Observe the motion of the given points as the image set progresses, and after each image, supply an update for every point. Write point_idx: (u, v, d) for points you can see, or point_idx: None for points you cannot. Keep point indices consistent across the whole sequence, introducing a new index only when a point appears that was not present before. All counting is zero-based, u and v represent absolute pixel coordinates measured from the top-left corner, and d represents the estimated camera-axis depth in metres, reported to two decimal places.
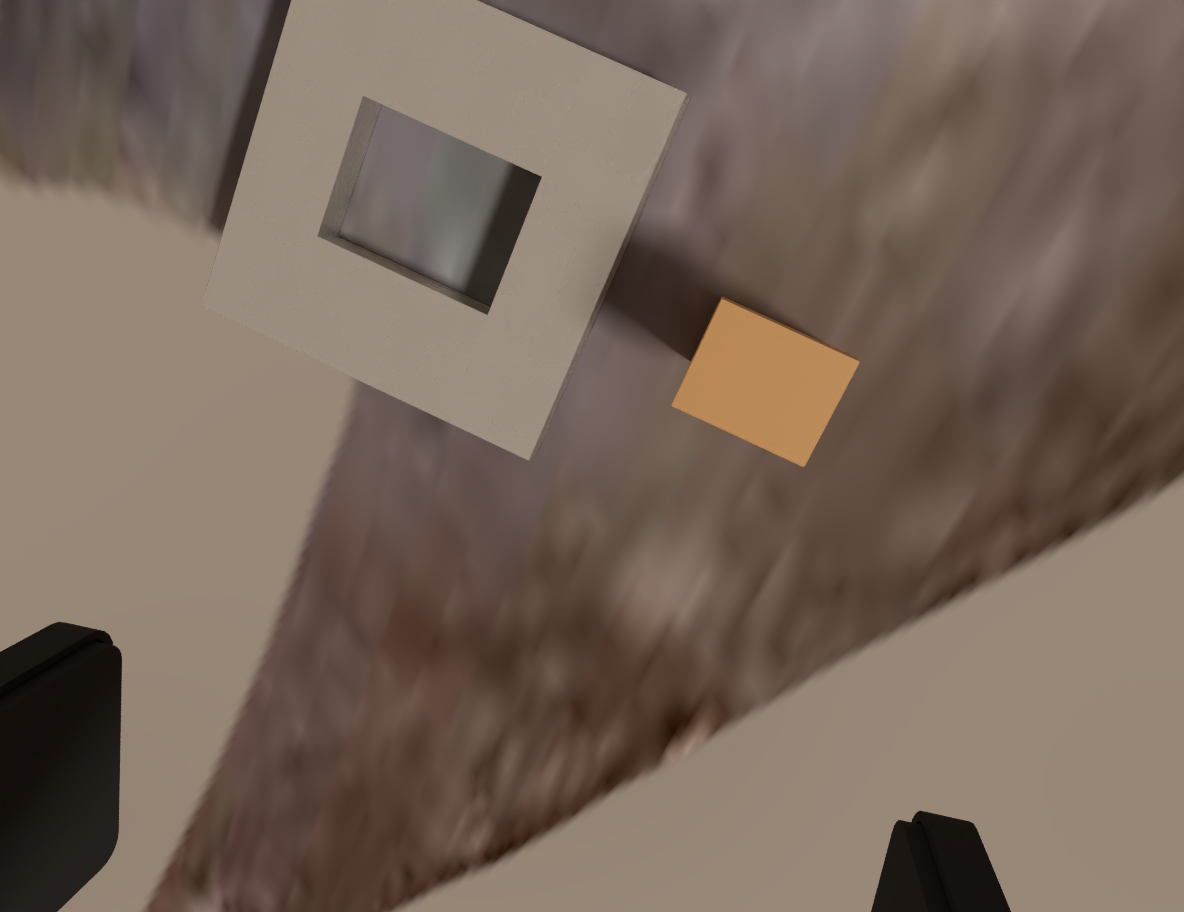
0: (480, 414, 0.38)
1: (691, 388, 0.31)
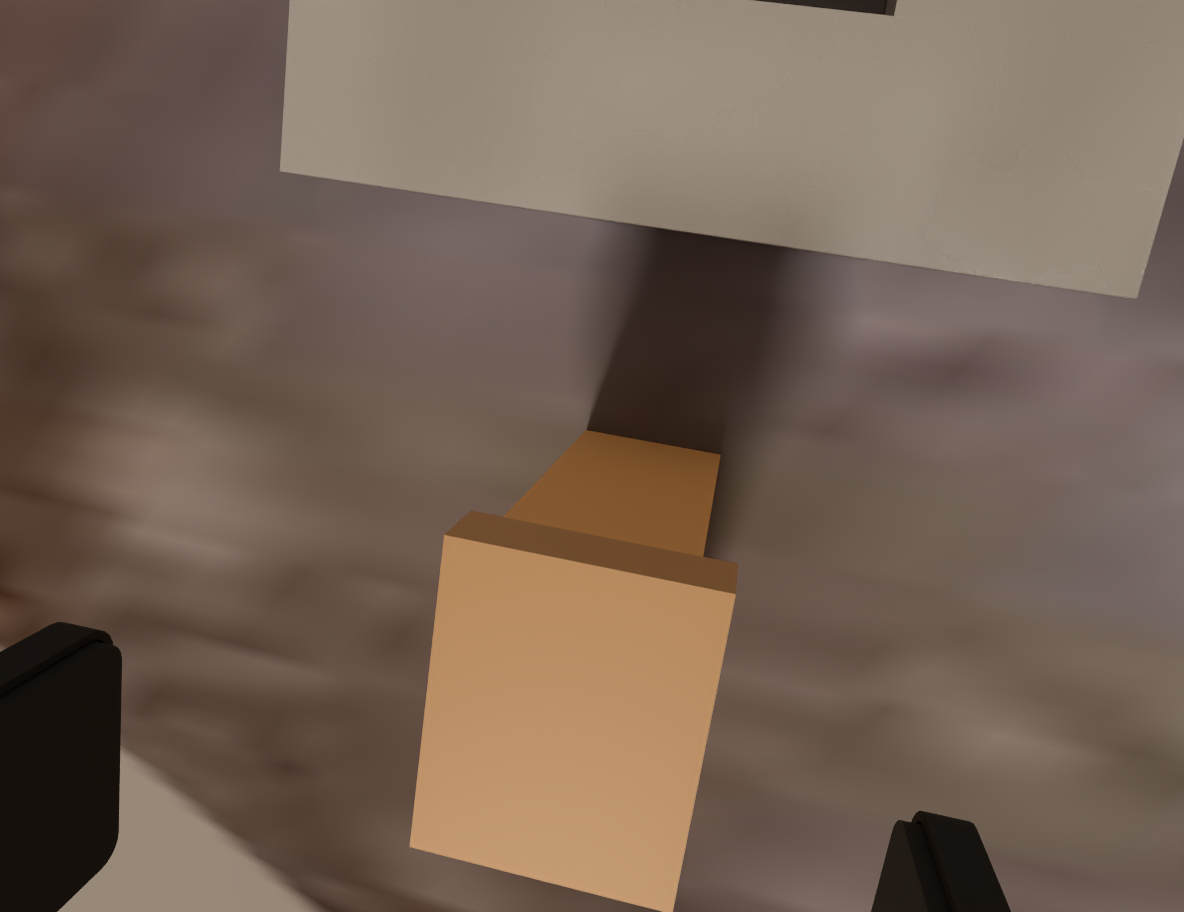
0: (335, 30, 0.17)
1: (499, 571, 0.12)
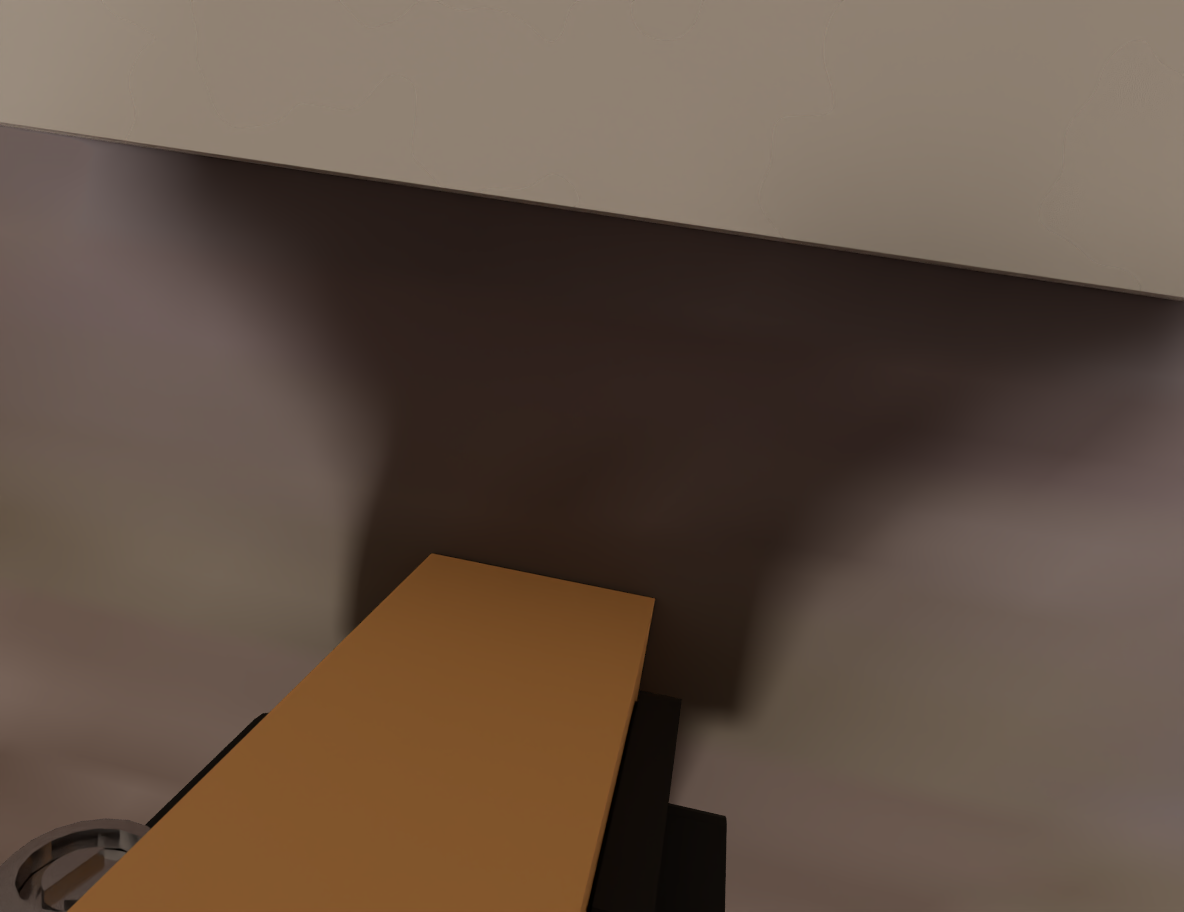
0: None
1: None
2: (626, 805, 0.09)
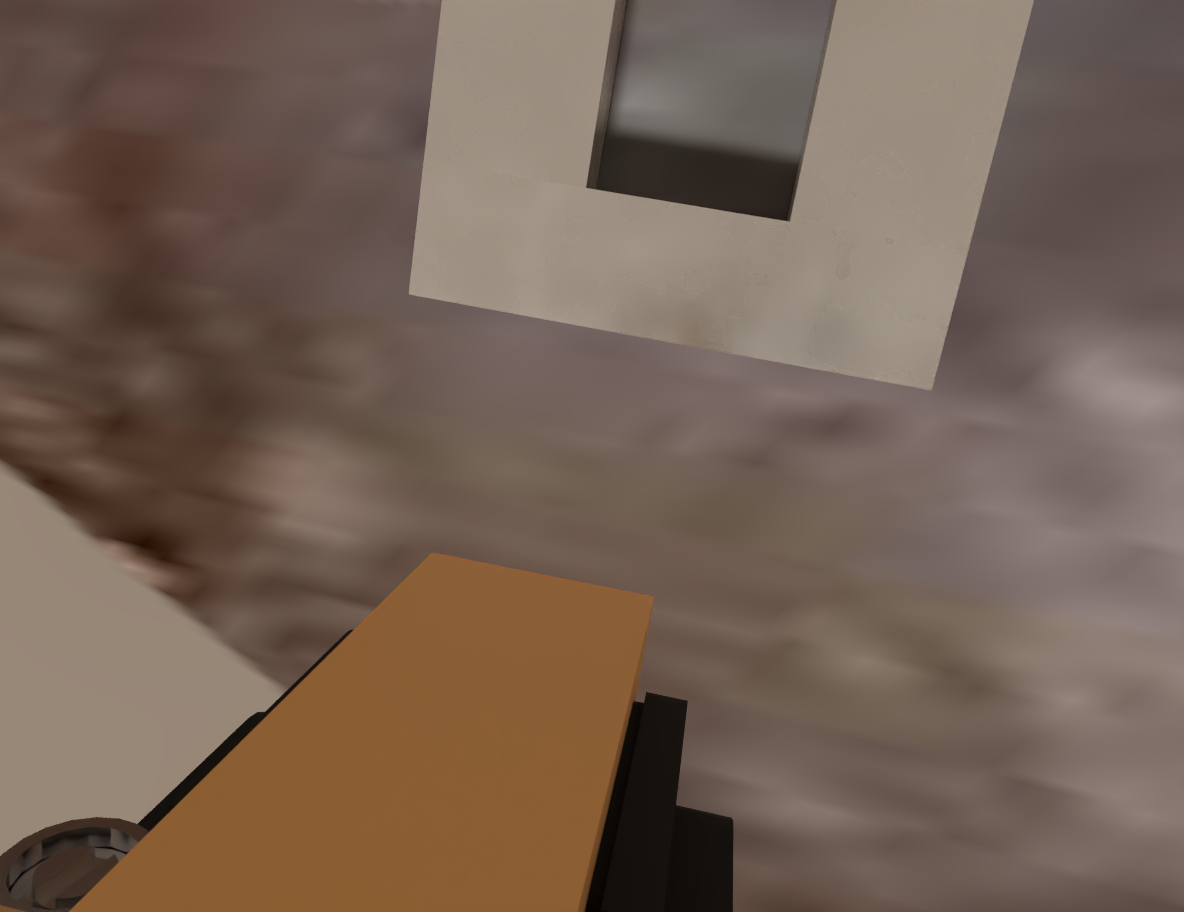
0: (448, 210, 0.27)
1: None
2: (634, 807, 0.09)
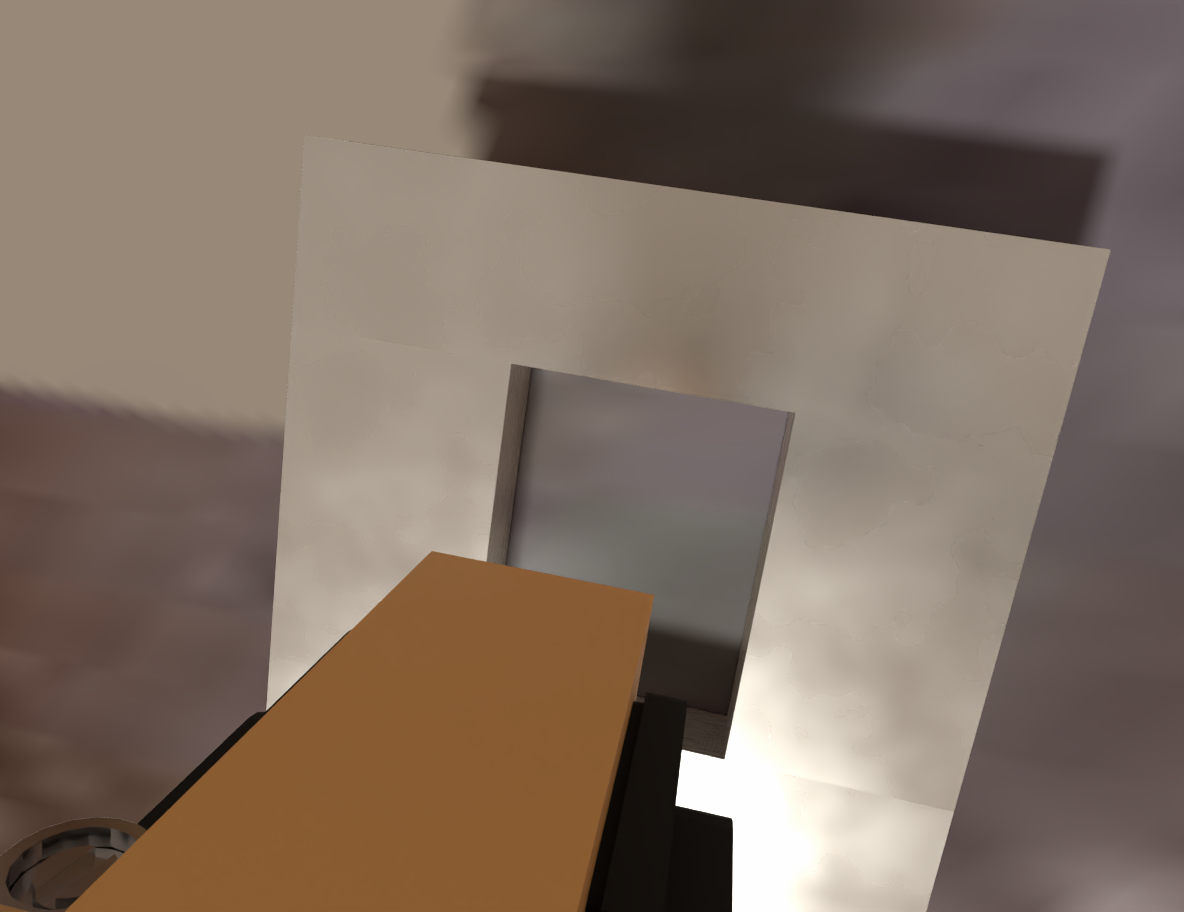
0: None
1: None
2: (634, 807, 0.09)
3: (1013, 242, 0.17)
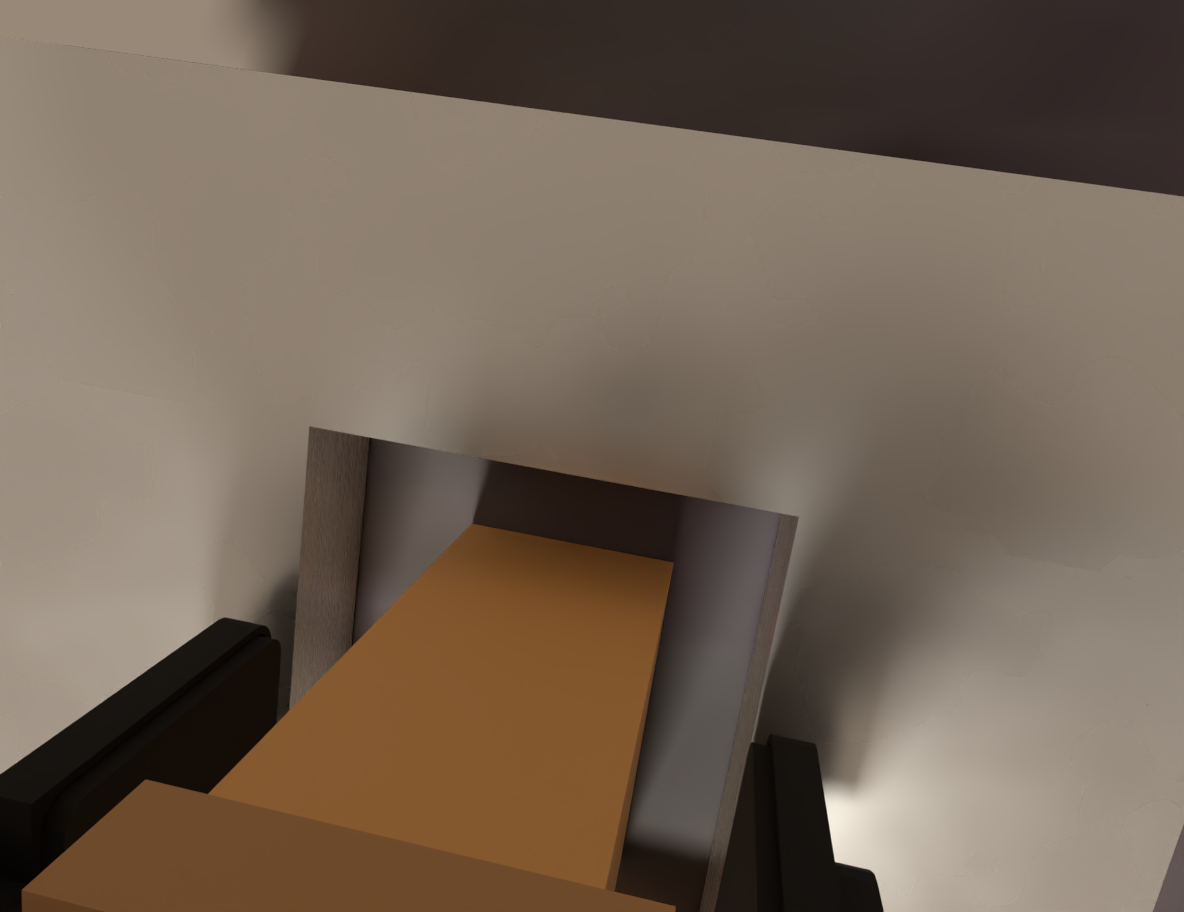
0: None
1: None
2: (794, 869, 0.08)
3: None
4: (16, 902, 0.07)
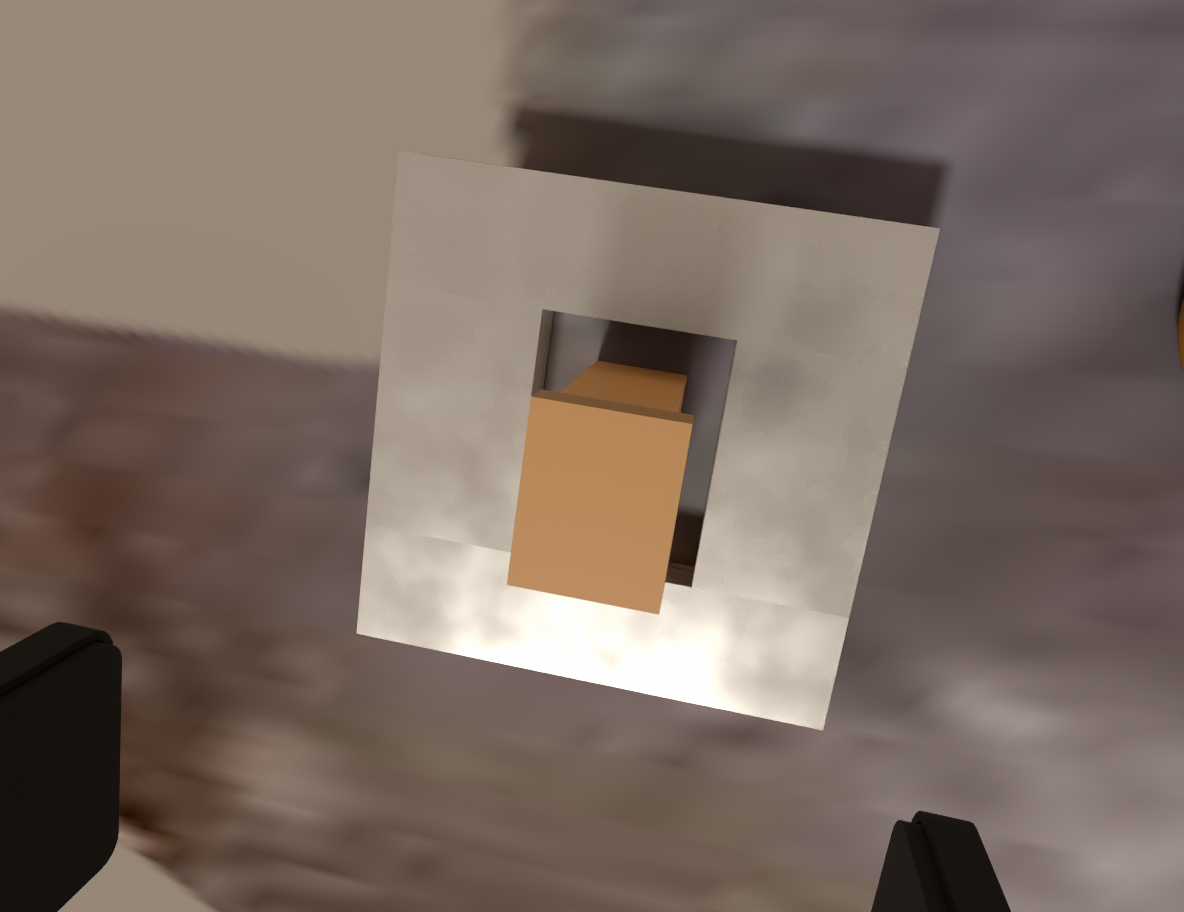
0: (389, 566, 0.30)
1: (562, 416, 0.22)
2: None
3: (877, 223, 0.25)
4: None
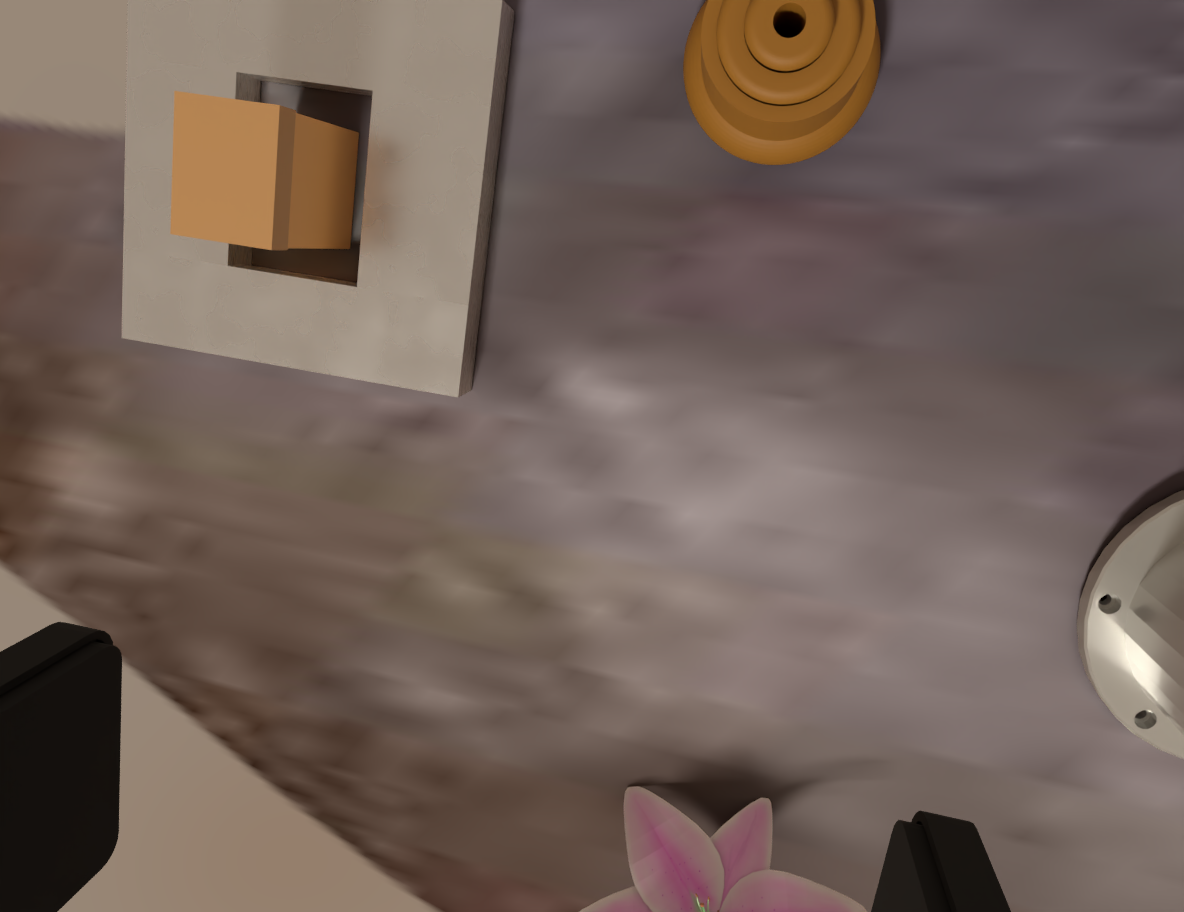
0: (142, 281, 0.40)
1: (195, 104, 0.32)
2: None
3: None
4: None
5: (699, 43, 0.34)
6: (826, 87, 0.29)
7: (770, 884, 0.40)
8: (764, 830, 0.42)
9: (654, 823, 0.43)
